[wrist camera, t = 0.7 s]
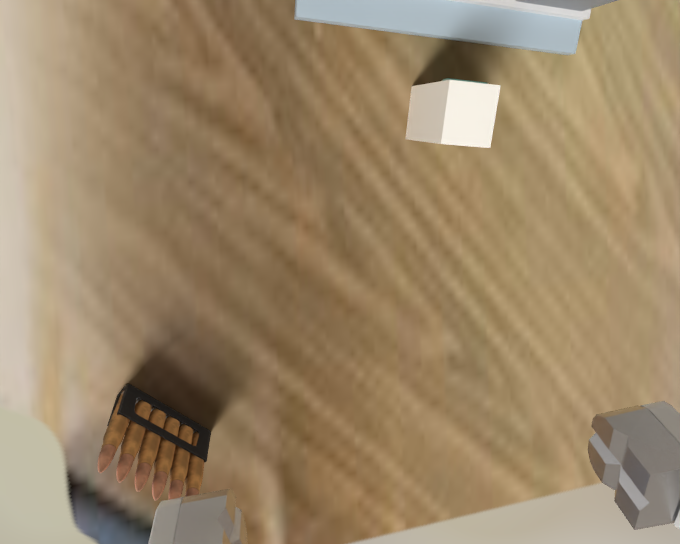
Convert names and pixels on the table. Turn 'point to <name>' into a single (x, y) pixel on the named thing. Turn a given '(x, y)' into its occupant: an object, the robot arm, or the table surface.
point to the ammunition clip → (155, 444)
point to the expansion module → (453, 112)
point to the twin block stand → (464, 19)
